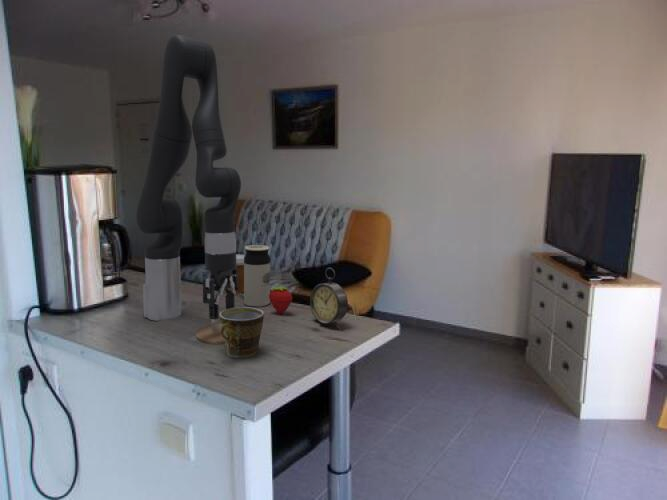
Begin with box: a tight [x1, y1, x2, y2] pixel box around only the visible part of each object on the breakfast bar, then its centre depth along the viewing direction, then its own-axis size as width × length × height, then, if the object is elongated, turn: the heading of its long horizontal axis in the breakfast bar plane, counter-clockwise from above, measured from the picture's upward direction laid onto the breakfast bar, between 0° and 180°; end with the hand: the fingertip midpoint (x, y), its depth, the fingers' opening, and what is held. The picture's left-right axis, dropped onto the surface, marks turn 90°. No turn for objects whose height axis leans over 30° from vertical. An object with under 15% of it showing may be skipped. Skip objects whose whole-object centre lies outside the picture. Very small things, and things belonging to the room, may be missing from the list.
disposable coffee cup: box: [234, 253, 246, 294], centre depth 171 cm, size 10×10×12 cm
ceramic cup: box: [220, 306, 265, 359], centre depth 115 cm, size 13×10×10 cm
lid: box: [195, 309, 225, 345], centre depth 127 cm, size 12×12×6 cm
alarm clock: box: [309, 267, 349, 330], centre depth 138 cm, size 11×5×16 cm, turn 47°
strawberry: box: [269, 281, 293, 316], centre depth 147 cm, size 6×8×10 cm
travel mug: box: [243, 244, 271, 308], centre depth 156 cm, size 8×8×18 cm
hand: (222, 314), depth 126 cm, fingers open, 8 cm apart
